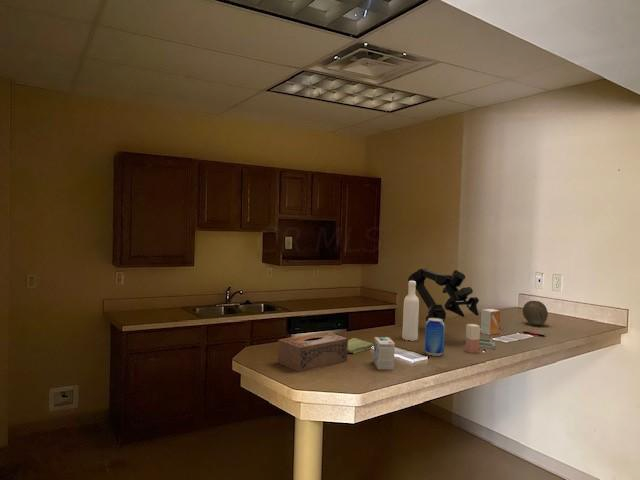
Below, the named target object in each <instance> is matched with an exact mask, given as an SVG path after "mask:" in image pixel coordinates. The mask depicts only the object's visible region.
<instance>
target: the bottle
mask: <svg viewBox="0 0 640 480" xmlns="http://www.w3.org/2000/svg"><path fill="white" fill-rule="evenodd" d="M407 283H408V282H407ZM407 285H408V289H407V290H408V293H407V295H406V296H405V297H404V300H403V312H402V313H403V315H402V333H401V336H402V338H401V339H402V340H404V339H405V341H408V340H410V341H409V342H415V340H416V341H418V338H419V337H418V336H419V312H420V309H419V308H420V300H419V297H418V296H417V294H416V291H417V290H416V281H409V283H408V284H407Z"/></svg>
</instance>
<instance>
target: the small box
mask: <svg viewBox="0 0 640 480" xmlns="http://www.w3.org/2000/svg"><path fill="white" fill-rule="evenodd" d="M500 315H501V311H500V310H498V309H492V308H488V309H487V308H486V309H481V317H480V334H485V335H487V336H491V335H498V334H500V333H499V332H500V323H499V318H500ZM500 319H501V318H500Z"/></svg>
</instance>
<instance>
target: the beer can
mask: <svg viewBox="0 0 640 480" xmlns="http://www.w3.org/2000/svg"><path fill="white" fill-rule="evenodd" d="M445 329H446V326H445V322H443V320H442V319H439V318H428V321H427V322H426V321H425V332H424V333H425V335H424V336H425V337H424V352H425V353H426V355H428V356H431V355H432V357H439V356H442V355H443V353H444V347H445Z"/></svg>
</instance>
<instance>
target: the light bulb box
mask: <svg viewBox="0 0 640 480" xmlns="http://www.w3.org/2000/svg"><path fill="white" fill-rule="evenodd" d="M373 345H374V346H373V359H372V360H373V361H372V362H373V363H374V365H375V367H376V368H377V370H385V371H386V370H394V369H395V367H394V366H395V348H396V347H395V346H396V344H395V342H394V341H393V340H392V339H391V337H388V336H385V337H383V336H380V337H379V336H375V337H374V340H373Z"/></svg>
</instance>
